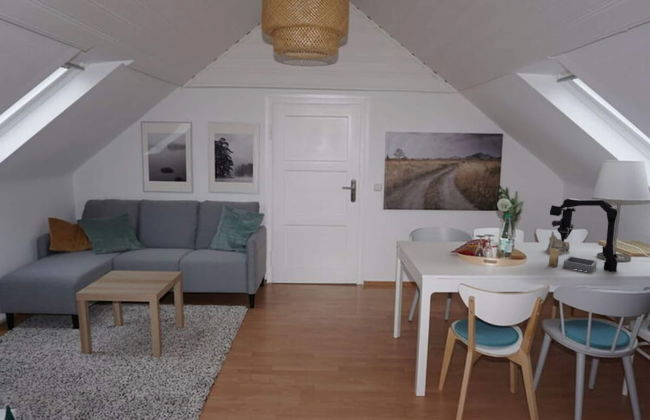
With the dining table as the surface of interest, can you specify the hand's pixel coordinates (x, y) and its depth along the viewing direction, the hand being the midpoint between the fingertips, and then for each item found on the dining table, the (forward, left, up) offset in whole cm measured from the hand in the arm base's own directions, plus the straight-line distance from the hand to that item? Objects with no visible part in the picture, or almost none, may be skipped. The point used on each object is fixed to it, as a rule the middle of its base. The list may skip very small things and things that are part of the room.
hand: (564, 240), depth 309 cm
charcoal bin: (-12, +8, -15) cm, 21 cm away
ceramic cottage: (+8, -25, -15) cm, 30 cm away
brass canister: (+2, +16, -15) cm, 22 cm away
